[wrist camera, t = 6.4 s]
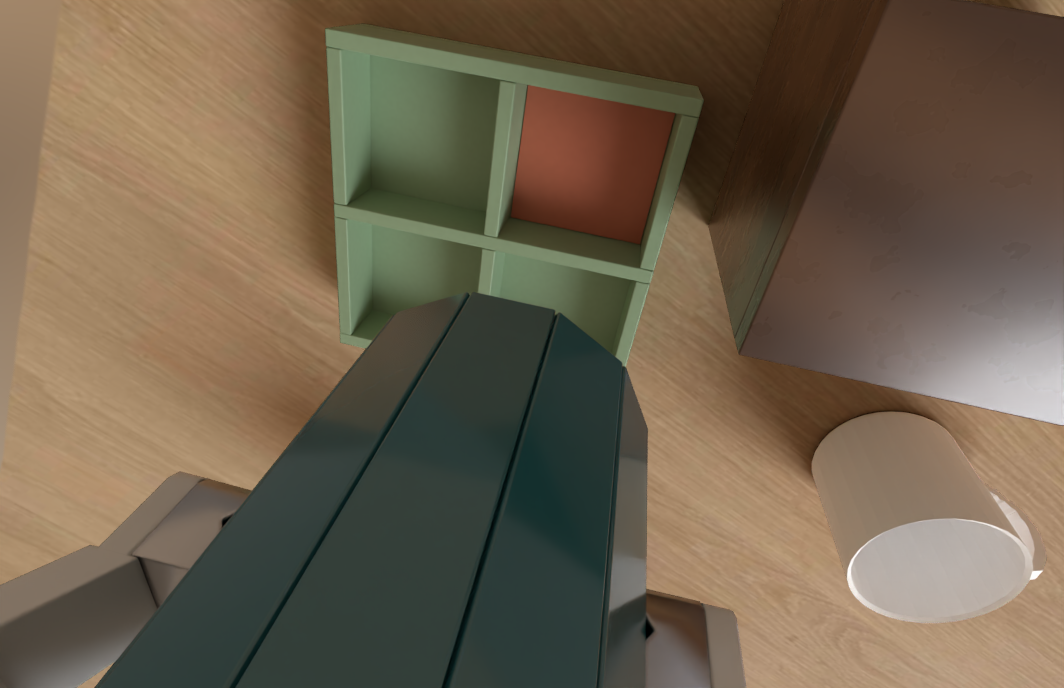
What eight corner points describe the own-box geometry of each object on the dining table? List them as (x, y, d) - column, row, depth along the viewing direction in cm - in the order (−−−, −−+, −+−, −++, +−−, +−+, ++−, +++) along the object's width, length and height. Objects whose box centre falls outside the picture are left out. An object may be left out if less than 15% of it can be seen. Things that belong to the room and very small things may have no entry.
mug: (786, 482, 42) (816, 593, 34) (854, 391, 37) (908, 498, 29) (940, 532, 42) (1006, 655, 34) (1030, 447, 37) (1130, 569, 29)
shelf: (788, -12, 27) (893, -13, 15) (1052, 33, 26) (1381, 71, 14) (708, 226, 33) (737, 355, 22) (916, 269, 32) (1064, 427, 21)
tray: (362, 23, 31) (324, 27, 27) (698, 86, 30) (704, 99, 26) (367, 311, 41) (340, 342, 37) (617, 368, 40) (614, 406, 36)
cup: (353, 264, 11) (-242, 809, 4) (681, 336, 11) (744, 1117, 3) (360, 490, 15) (63, 998, 7) (606, 551, 14) (556, 1158, 7)
